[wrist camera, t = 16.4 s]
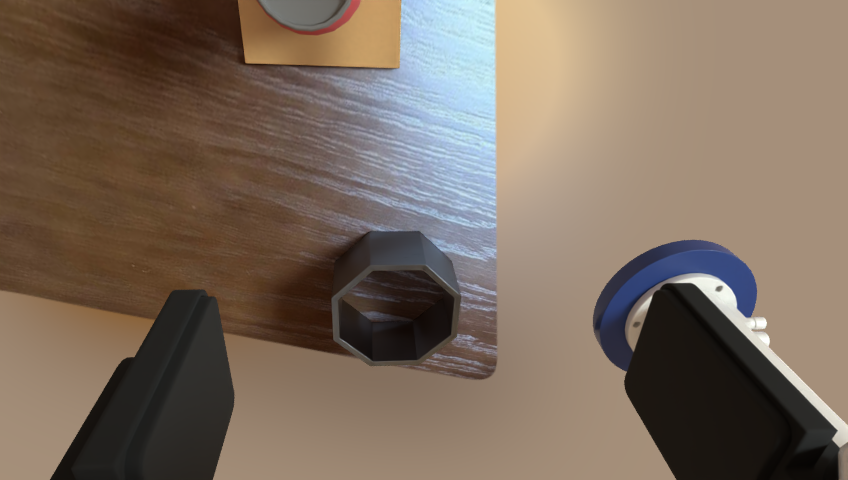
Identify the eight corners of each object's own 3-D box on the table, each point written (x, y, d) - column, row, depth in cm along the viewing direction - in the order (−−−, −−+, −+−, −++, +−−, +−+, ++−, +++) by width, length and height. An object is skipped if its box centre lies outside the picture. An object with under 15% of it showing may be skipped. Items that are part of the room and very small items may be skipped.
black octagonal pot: (454, 231, 49) (464, 264, 44) (445, 324, 55) (453, 363, 50) (333, 231, 48) (329, 265, 43) (337, 327, 54) (334, 367, 49)
